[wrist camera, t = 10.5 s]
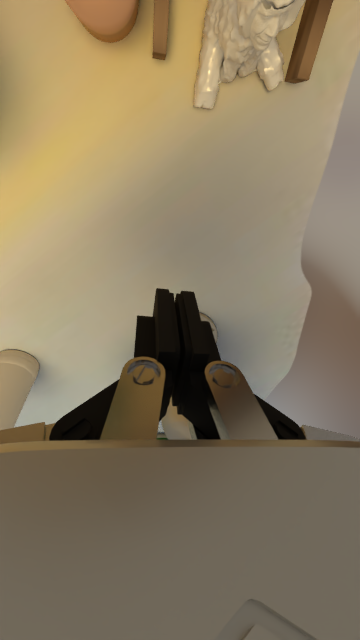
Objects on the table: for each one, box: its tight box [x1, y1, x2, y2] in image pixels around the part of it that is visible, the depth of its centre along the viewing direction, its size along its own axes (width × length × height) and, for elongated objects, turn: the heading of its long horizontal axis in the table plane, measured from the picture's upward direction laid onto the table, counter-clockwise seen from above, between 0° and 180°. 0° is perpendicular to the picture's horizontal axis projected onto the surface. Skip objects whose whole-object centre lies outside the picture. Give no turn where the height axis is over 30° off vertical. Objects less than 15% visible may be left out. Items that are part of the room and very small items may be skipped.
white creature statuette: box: [194, 0, 306, 109], centre depth 21 cm, size 10×9×12 cm
